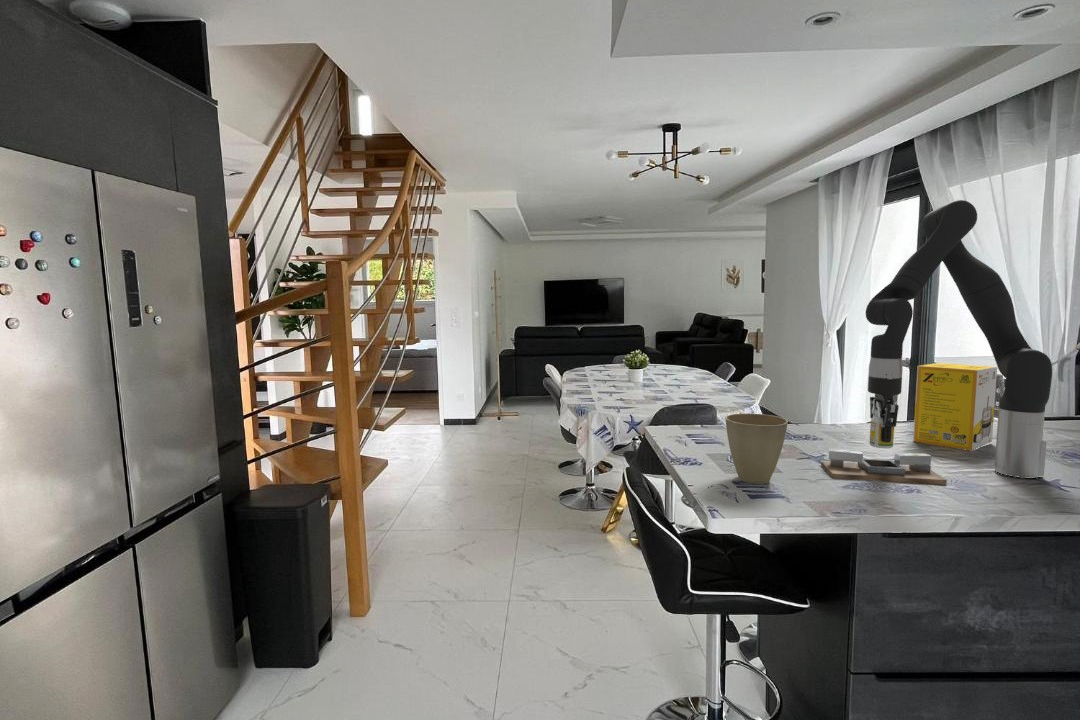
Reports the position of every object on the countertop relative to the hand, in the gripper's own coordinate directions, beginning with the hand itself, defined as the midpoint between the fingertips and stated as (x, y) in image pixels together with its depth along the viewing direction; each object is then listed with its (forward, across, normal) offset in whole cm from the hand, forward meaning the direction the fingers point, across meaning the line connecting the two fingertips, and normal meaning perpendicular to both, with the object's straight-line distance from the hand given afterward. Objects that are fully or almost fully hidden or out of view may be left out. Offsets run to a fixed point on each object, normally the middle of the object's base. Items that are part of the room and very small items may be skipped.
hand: (881, 438), depth 150 cm
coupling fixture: (+8, 0, 0) cm, 8 cm away
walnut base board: (+10, 0, 0) cm, 10 cm away
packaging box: (+10, -44, +35) cm, 57 cm away
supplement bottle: (+2, 0, 0) cm, 2 cm away
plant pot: (+10, +12, -33) cm, 36 cm away
